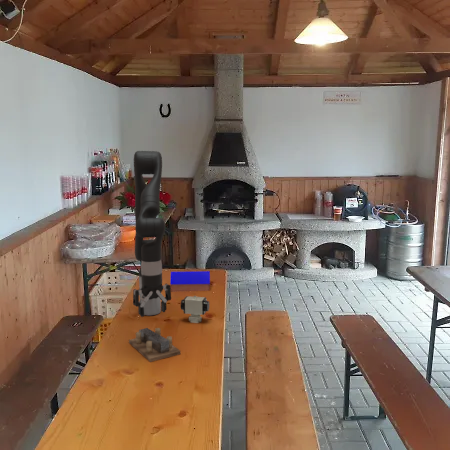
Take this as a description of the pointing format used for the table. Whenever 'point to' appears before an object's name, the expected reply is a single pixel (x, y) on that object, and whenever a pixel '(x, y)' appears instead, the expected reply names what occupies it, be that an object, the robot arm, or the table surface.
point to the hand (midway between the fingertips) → (152, 313)
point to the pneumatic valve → (195, 307)
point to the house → (190, 281)
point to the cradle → (149, 351)
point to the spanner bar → (155, 340)
